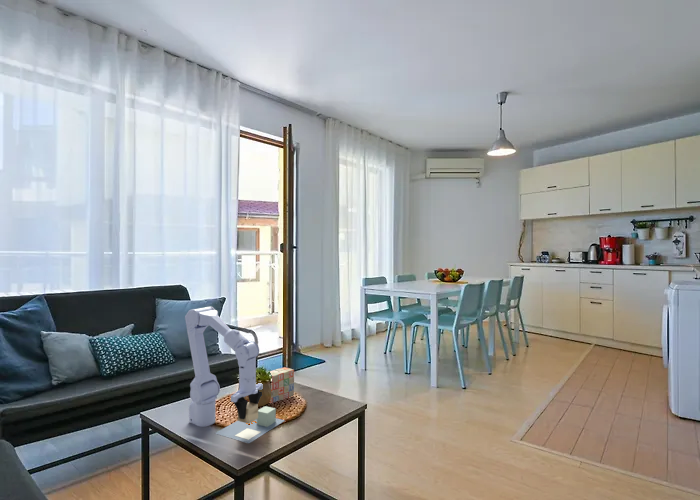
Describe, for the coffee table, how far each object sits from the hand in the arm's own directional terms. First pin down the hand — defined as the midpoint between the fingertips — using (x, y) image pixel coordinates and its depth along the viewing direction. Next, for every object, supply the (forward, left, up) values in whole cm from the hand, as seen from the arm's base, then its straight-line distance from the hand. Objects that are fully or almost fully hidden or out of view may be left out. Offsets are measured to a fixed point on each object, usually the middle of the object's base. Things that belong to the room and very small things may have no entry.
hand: (247, 415), depth 141 cm
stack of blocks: (-13, +29, -8) cm, 33 cm away
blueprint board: (-3, +5, -7) cm, 9 cm away
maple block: (0, 0, -1) cm, 1 cm away
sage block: (0, +10, -7) cm, 12 cm away
